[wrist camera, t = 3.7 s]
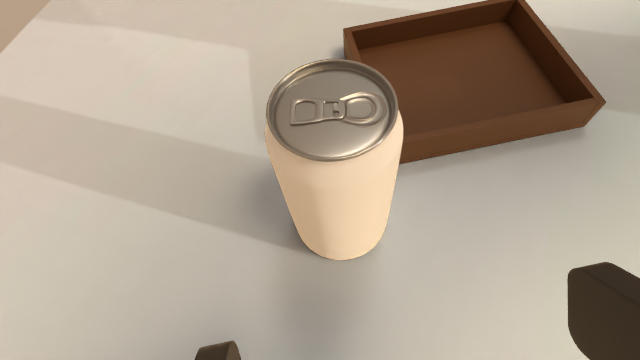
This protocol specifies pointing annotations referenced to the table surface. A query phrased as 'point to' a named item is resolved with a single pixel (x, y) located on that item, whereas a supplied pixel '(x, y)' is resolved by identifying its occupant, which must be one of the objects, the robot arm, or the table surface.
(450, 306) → the table surface
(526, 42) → the tray
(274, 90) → the can
